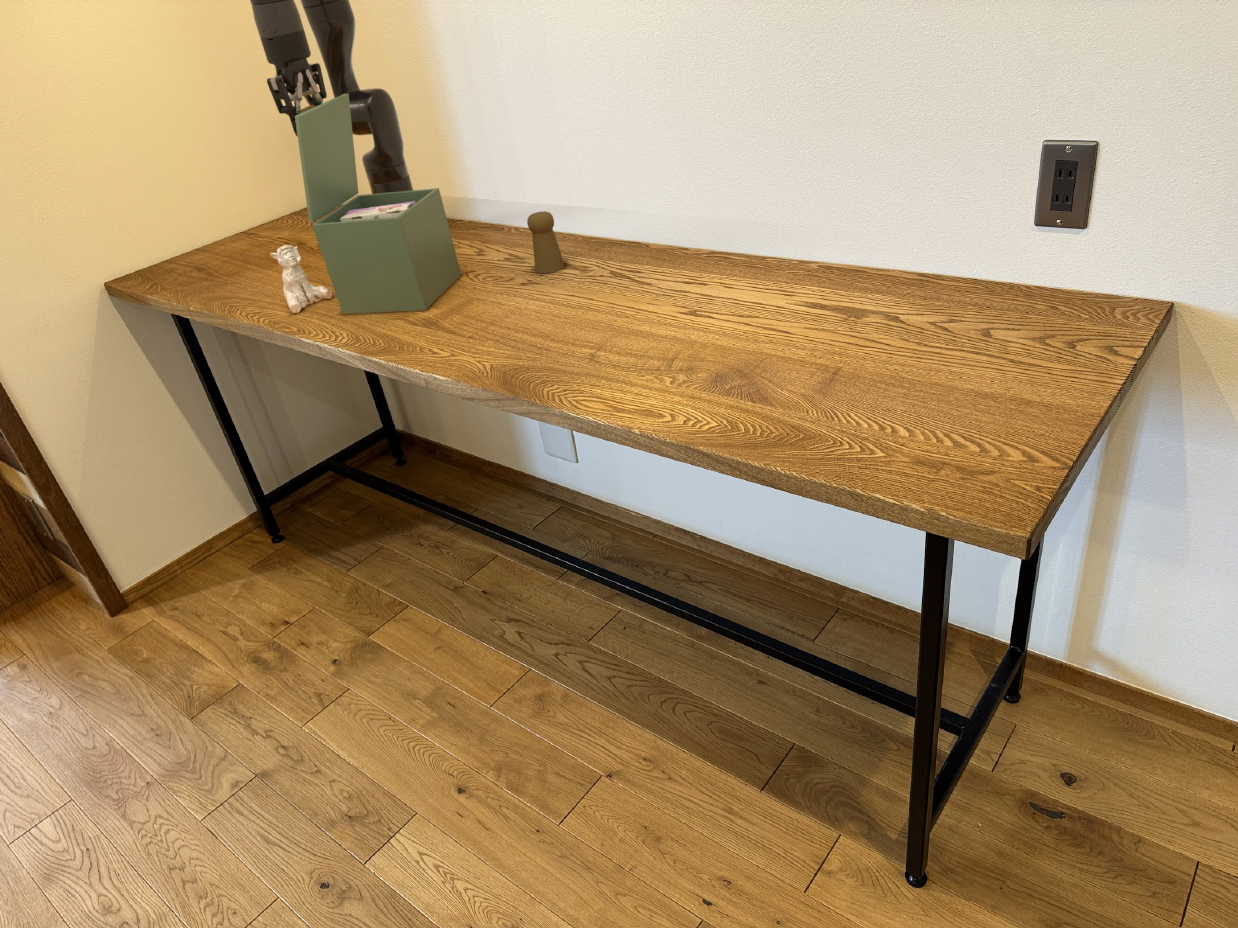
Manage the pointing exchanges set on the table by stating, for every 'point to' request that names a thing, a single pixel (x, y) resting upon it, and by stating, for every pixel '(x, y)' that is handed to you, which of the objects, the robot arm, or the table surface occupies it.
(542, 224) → the brown game pawn
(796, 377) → the table surface
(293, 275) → the sitting furry creature
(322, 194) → the lid
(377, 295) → the chest
